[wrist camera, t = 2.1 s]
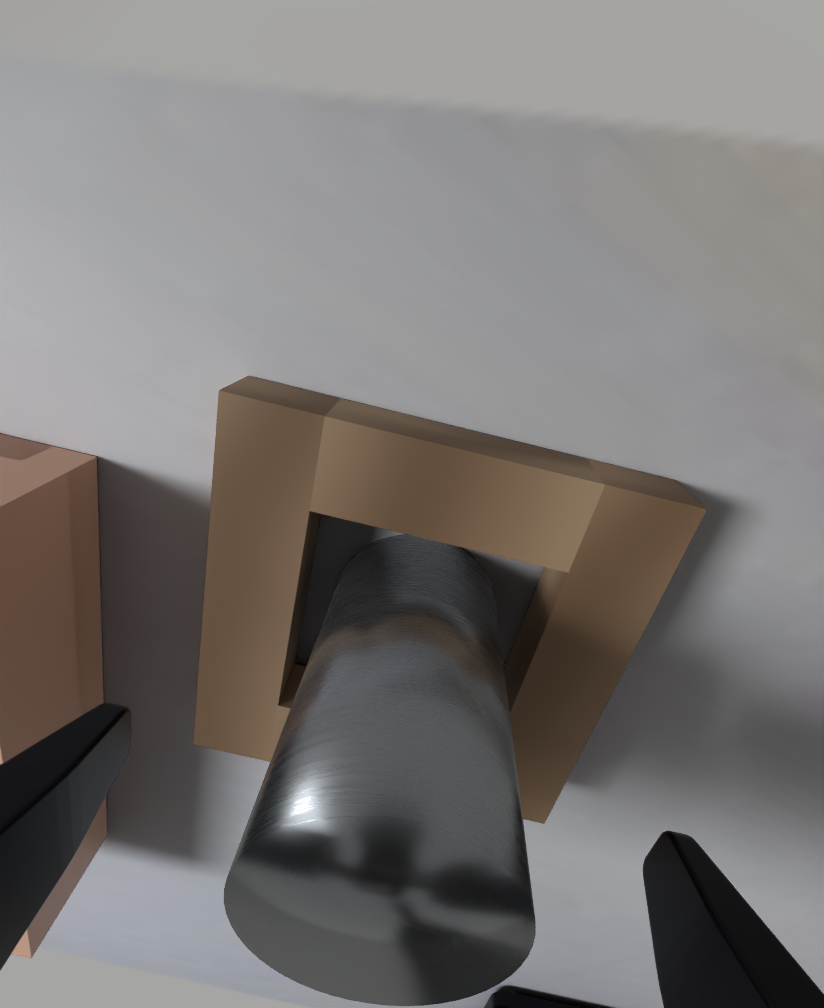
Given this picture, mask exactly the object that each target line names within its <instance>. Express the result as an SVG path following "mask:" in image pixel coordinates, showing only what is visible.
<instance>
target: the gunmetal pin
mask: <svg viewBox="0 0 824 1008" xmlns="http://www.w3.org/2000/svg"><path fill="white" fill-rule="evenodd" d="M224 904H225V909H226V914H227V916H228V919H229V921H230V924H231V926H232V928H233V929H234V931H235V932H236V934H237V936H238V937H239V938H240V940H241V941H242V942H243V943H244V944H245V946H246V947H247V948H248V949H249V950H250V951H251V952H252V953H253V954H255V955H256V956H257V957H258V958H259V959H260V960H262V961H263V962H264V963H266V964H267V965H268V966H270V967H271V968H273V969H274V970H276V971H277V972H279V973H281V974H282V975H284V976H286V977H288V978H290V979H292V980H294V981H296V982H298V983H300V984H302V985H305V986H307V987H310V988H312V989H314V990H317V991H320V992H323V993H326V994H329V995H332V996H336V997H340V998H344V999H348V1000H353V1001H359V1002H364V1003H371V1004H380V1005H394V1006H418V1005H430V1004H440V1003H445V1002H450V1001H456V1000H459V999H463V998H467V997H470V996H473V995H476V994H478V993H481V992H483V991H486V990H488V989H490V988H492V987H494V986H496V985H498V984H499V983H501V982H502V981H504V980H505V979H507V978H508V977H509V976H511V975H512V974H513V973H514V972H515V971H516V970H517V969H518V968H519V967H520V966H521V965H522V963H523V962H524V961H525V959H526V958H527V957H528V955H529V952H530V950H531V948H532V946H533V942H534V938H535V914H534V906H533V898H532V890H531V882H530V874H529V866H528V858H527V850H526V842H525V834H524V826H523V818H522V810H521V802H520V794H519V786H518V777H517V769H516V761H515V753H514V745H513V737H512V729H511V721H510V713H509V705H508V697H507V689H506V681H505V673H504V665H503V657H502V649H501V641H500V633H499V625H498V617H497V608H496V600H495V594H494V589H493V586H492V584H491V581H490V579H489V577H488V575H487V573H486V572H485V570H484V569H483V568H482V566H481V565H480V564H479V563H478V562H477V561H476V559H475V558H474V557H473V556H471V555H470V554H469V553H467V552H466V551H465V550H463V549H462V548H460V547H458V546H454V545H450V544H445V543H441V542H437V541H433V540H429V539H425V538H420V537H416V536H412V535H408V534H406V535H397V536H391V537H388V538H384V539H381V540H379V541H376V542H374V543H372V544H370V545H368V546H367V547H365V548H364V549H362V550H361V551H360V552H358V553H357V554H356V555H355V556H354V557H353V558H352V559H351V560H350V561H349V562H348V564H347V565H346V567H345V568H344V570H343V572H342V574H341V576H340V578H339V581H338V584H337V586H336V589H335V592H334V594H333V597H332V600H331V602H330V605H329V608H328V610H327V613H326V616H325V618H324V621H323V624H322V626H321V629H320V632H319V634H318V637H317V640H316V642H315V645H314V648H313V650H312V653H311V656H310V658H309V661H308V664H307V666H306V669H305V672H304V674H303V677H302V680H301V682H300V685H299V687H298V690H297V693H296V695H295V698H294V701H293V703H292V706H291V709H290V711H289V714H288V717H287V719H286V722H285V725H284V727H283V730H282V733H281V735H280V738H279V741H278V743H277V746H276V749H275V751H274V754H273V757H272V759H271V762H270V765H269V767H268V770H267V773H266V775H265V778H264V781H263V783H262V786H261V789H260V791H259V794H258V797H257V799H256V802H255V805H254V807H253V810H252V813H251V815H250V818H249V821H248V823H247V826H246V829H245V831H244V834H243V837H242V839H241V842H240V845H239V847H238V850H237V853H236V855H235V858H234V861H233V863H232V866H231V869H230V871H229V874H228V877H227V880H226V884H225V888H224Z"/></svg>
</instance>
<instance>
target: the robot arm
mask: <svg viewBox="0 0 824 1008" xmlns="http://www.w3.org/2000/svg"><path fill="white" fill-rule="evenodd" d="M130 745H131V711H130V709H129V708H128V707H126V706H121V705H117V704H112V703H103V704H100V705H98V706H97V707H95V708H93V709H92V710H90V711H88V712H87V713H85V714H83V715H82V716H80V717H78V718H77V719H75V720H73V721H72V722H70V723H68V724H67V725H65V726H63V727H62V728H60V729H58V730H57V731H55V732H53V733H52V734H50V735H48V736H47V737H45V738H43V739H42V740H40V741H38V742H37V743H35V744H34V745H32V746H30V747H29V748H27V749H25V750H24V751H22V752H20V753H19V754H17V755H15V756H14V757H12V758H10V759H9V760H7V761H5V762H4V763H2V764H0V970H1V969H2V967H3V966H4V964H5V962H6V961H7V959H8V958H9V956H10V955H11V953H12V952H13V950H14V949H15V947H16V946H17V944H18V942H19V941H20V939H21V938H22V936H23V935H24V933H25V932H26V930H27V929H28V927H29V925H30V924H31V922H32V921H33V919H34V918H35V916H36V915H37V913H38V912H39V910H40V909H41V907H42V905H43V904H44V902H45V901H46V899H47V898H48V896H49V895H50V893H51V892H52V890H53V888H54V887H55V885H56V884H57V882H58V881H59V879H60V878H61V876H62V875H63V873H64V871H65V870H66V868H67V867H68V865H69V863H70V862H71V860H72V858H73V857H74V855H75V853H76V852H77V850H78V848H79V846H80V844H81V842H82V841H83V839H84V837H85V835H86V833H87V831H88V829H89V827H90V825H91V824H92V822H93V820H94V818H95V816H96V814H97V812H98V810H99V808H100V806H101V804H102V803H103V801H104V799H105V797H106V795H107V793H108V791H109V789H110V787H111V785H112V784H113V782H114V780H115V778H116V776H117V774H118V772H119V770H120V768H121V766H122V764H123V763H124V761H125V759H126V757H127V754H128V752H129V749H130ZM643 878H644V885H645V892H646V899H647V906H648V913H649V920H650V927H651V934H652V941H653V948H654V955H655V962H656V968H657V974H658V980H659V986H660V991H661V995H662V1000H663V1005H664V1008H824V994H823V993H822V992H821V990H820V989H819V988H818V987H817V986H816V984H815V983H814V982H813V981H812V980H811V978H810V977H809V976H808V975H807V974H806V972H805V971H804V970H803V969H802V968H801V966H800V965H799V964H798V963H797V962H796V960H795V959H794V958H793V957H792V956H791V954H790V953H789V952H788V951H787V950H786V948H785V947H784V946H783V945H782V944H781V943H780V941H779V940H778V939H777V938H776V937H775V935H774V934H773V933H772V932H771V931H770V929H769V928H768V927H767V926H766V925H765V923H764V922H763V921H762V920H761V919H760V917H759V916H758V915H757V914H756V913H755V911H754V910H753V909H752V908H751V907H750V905H749V904H748V903H747V902H746V901H745V899H744V898H743V897H742V896H741V895H740V893H739V892H738V891H737V890H736V889H735V887H734V886H733V885H732V884H731V883H730V881H729V880H728V879H727V878H726V877H725V876H724V874H723V873H722V872H721V871H720V870H719V868H718V867H717V866H716V865H715V864H714V862H713V861H712V860H711V859H710V858H709V856H708V855H707V854H706V853H705V852H704V850H703V849H702V848H701V847H700V846H699V844H698V843H697V842H696V841H695V840H694V839H693V838H692V837H690V836H688V835H685V834H681V833H677V832H672V831H665V832H663V833H662V834H661V835H660V837H659V838H658V840H657V841H656V843H655V844H654V846H653V847H652V849H651V850H650V852H649V853H648V855H647V856H646V858H645V860H644V864H643ZM484 1008H581V1007H576V1006H571V1005H567V1004H562V1003H558V1002H553V1001H548V1000H544V999H539V998H535V997H530V996H525V995H521V994H516V993H512V992H506V991H499V992H496V993H493V994H492V995H491V997H490V998H489V1000H488V1002H487V1004H486V1005H485V1007H484Z"/></svg>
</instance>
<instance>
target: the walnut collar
mask: <svg viewBox="0 0 824 1008" xmlns="http://www.w3.org/2000/svg"><path fill="white" fill-rule="evenodd" d="M706 511H707V509H706V508H705V507H704V506H703V505H702V504H701V503H700V502H699V501H698V500H697V499H695V498H694V497H693V496H692V495H691V494H690V493H689V492H688V491H687V490H686V489H685V488H684V487H683V486H682V485H681V484H680V483H678V482H677V481H676V480H672V479H668V478H664V477H660V476H656V475H652V474H648V473H644V472H639V471H635V470H631V469H627V468H623V467H619V466H615V465H611V464H607V463H603V462H599V461H595V460H590V459H586V458H582V457H578V456H574V455H570V454H566V453H562V452H558V451H554V450H550V449H546V448H541V447H537V446H533V445H529V444H525V443H521V442H517V441H513V440H509V439H505V438H501V437H496V436H492V435H488V434H484V433H480V432H476V431H472V430H468V429H464V428H460V427H456V426H452V425H447V424H443V423H439V422H435V421H431V420H427V419H423V418H419V417H415V416H411V415H407V414H403V413H398V412H394V411H390V410H386V409H382V408H378V407H374V406H370V405H366V404H362V403H358V402H354V401H349V400H345V399H341V398H337V397H333V396H329V395H325V394H321V393H317V392H313V391H309V390H304V389H300V388H296V387H292V386H288V385H284V384H280V383H276V382H272V381H268V380H264V379H260V378H255V377H251V376H247V377H245V378H243V379H241V380H239V381H237V382H235V383H233V384H231V385H229V386H227V387H225V388H223V389H221V390H219V397H218V411H217V424H216V438H215V452H214V466H213V479H212V493H211V507H210V520H209V534H208V548H207V562H206V575H205V589H204V603H203V616H202V630H201V644H200V658H199V671H198V685H197V699H196V712H195V726H194V740H193V744H194V745H198V746H203V747H207V748H211V749H216V750H220V751H225V752H229V753H234V754H238V755H242V756H247V757H251V758H256V759H260V760H265V761H269V762H271V759H272V757H273V754H274V751H275V749H276V746H277V743H278V741H279V738H280V735H281V733H282V730H283V727H284V725H285V722H286V719H287V717H288V714H289V711H290V709H291V706H292V703H293V701H294V698H295V695H296V693H297V690H298V687H299V685H300V682H301V680H302V677H303V674H304V672H305V669H306V666H304V665H299V664H295V661H296V655H297V649H298V644H299V638H300V632H301V626H302V620H303V615H304V609H305V603H306V597H307V592H308V586H309V580H310V574H311V568H312V563H313V557H314V551H315V545H316V539H317V534H318V528H319V522H320V516H321V514H324V515H328V516H332V517H337V518H341V519H345V520H349V521H353V522H358V523H362V524H366V525H370V526H374V527H378V528H383V529H387V530H391V531H395V532H399V533H404V534H408V535H412V536H416V537H420V538H425V539H429V540H433V541H437V542H441V543H445V544H450V545H454V546H458V547H462V548H466V549H471V550H475V551H479V552H483V553H487V554H491V555H496V556H500V557H504V558H508V559H512V560H517V561H521V562H525V563H529V564H533V565H538V566H542V567H544V569H543V571H542V574H541V577H540V579H539V582H538V584H537V587H536V589H535V592H534V594H533V597H532V599H531V602H530V605H529V607H528V610H527V612H526V615H525V617H524V620H523V622H522V625H521V627H520V630H519V633H518V635H517V638H516V640H515V643H514V645H513V648H512V650H511V653H510V656H509V658H508V661H507V663H506V666H505V668H504V673H505V681H506V689H507V697H508V705H509V713H510V721H511V729H512V737H513V745H514V753H515V761H516V769H517V777H518V786H519V794H520V802H521V810H522V818H523V819H526V820H530V821H534V822H539V823H543V824H544V823H545V821H546V819H547V817H548V816H549V814H550V812H551V810H552V808H553V806H554V804H555V802H556V800H557V798H558V796H559V794H560V792H561V790H562V789H563V787H564V785H565V783H566V781H567V779H568V777H569V775H570V773H571V771H572V769H573V767H574V765H575V763H576V762H577V760H578V758H579V756H580V754H581V752H582V750H583V748H584V746H585V744H586V742H587V740H588V738H589V736H590V735H591V733H592V731H593V729H594V727H595V725H596V723H597V721H598V719H599V717H600V715H601V713H602V711H603V709H604V707H605V706H606V704H607V702H608V700H609V698H610V696H611V694H612V692H613V690H614V688H615V686H616V684H617V682H618V680H619V679H620V677H621V675H622V673H623V671H624V669H625V667H626V665H627V663H628V661H629V659H630V657H631V655H632V653H633V652H634V650H635V648H636V646H637V644H638V642H639V640H640V638H641V636H642V634H643V632H644V630H645V628H646V626H647V625H648V623H649V621H650V619H651V617H652V615H653V613H654V611H655V609H656V607H657V605H658V603H659V601H660V599H661V597H662V596H663V594H664V592H665V590H666V588H667V586H668V584H669V582H670V580H671V578H672V576H673V574H674V572H675V570H676V569H677V567H678V565H679V563H680V561H681V559H682V557H683V555H684V553H685V551H686V549H687V547H688V545H689V543H690V542H691V540H692V538H693V536H694V534H695V532H696V530H697V528H698V526H699V524H700V522H701V520H702V518H703V516H704V515H705V513H706Z"/></svg>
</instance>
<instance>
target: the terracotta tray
mask: <svg viewBox="0 0 824 1008" xmlns="http://www.w3.org/2000/svg"><path fill="white" fill-rule="evenodd" d="M103 703H104V700H103V663H102V627H101V591H100V554H99V518H98V482H97V457H95V456H91V455H87V454H83V453H79V452H75V451H70V450H66V449H62V448H58V447H54V446H49V445H45V444H41V443H37V442H33V441H29V440H24V439H20V438H16V437H12V436H8V435H3V434H0V764H2V763H4V762H5V761H7V760H9V759H10V758H12V757H14V756H15V755H17V754H19V753H20V752H22V751H24V750H25V749H27V748H29V747H30V746H32V745H34V744H35V743H37V742H38V741H40V740H42V739H43V738H45V737H47V736H48V735H50V734H52V733H53V732H55V731H57V730H58V729H60V728H62V727H63V726H65V725H67V724H68V723H70V722H72V721H73V720H75V719H77V718H78V717H80V716H82V715H83V714H85V713H87V712H88V711H90V710H92V709H93V708H95V707H97V706H98V705H100V704H103ZM106 836H107V809H106V797H105V799H104V801H103V803H102V804H101V806H100V808H99V810H98V812H97V814H96V816H95V818H94V820H93V822H92V824H91V825H90V827H89V829H88V831H87V833H86V835H85V837H84V839H83V841H82V842H81V844H80V846H79V848H78V850H77V852H76V853H75V855H74V857H73V858H72V860H71V862H70V863H69V865H68V867H67V868H66V870H65V871H64V873H63V875H62V876H61V878H60V879H59V881H58V882H57V884H56V885H55V887H54V888H53V890H52V892H51V893H50V895H49V896H48V898H47V899H46V901H45V902H44V904H43V905H42V907H41V909H40V910H39V912H38V913H37V915H36V916H35V918H34V919H33V921H32V922H31V924H30V925H29V927H28V929H27V930H26V932H25V933H24V935H23V936H22V938H21V939H20V941H19V942H18V944H17V946H16V947H15V949H14V950H13V952H12V953H11V954H13V955H18V956H22V957H27V958H32V956H33V955H34V953H35V952H36V950H37V949H38V947H39V945H40V944H41V942H42V940H43V939H44V937H45V936H46V934H47V932H48V931H49V929H50V927H51V926H52V924H53V923H54V921H55V919H56V918H57V916H58V914H59V913H60V911H61V910H62V908H63V906H64V905H65V903H66V901H67V900H68V898H69V897H70V895H71V893H72V892H73V890H74V888H75V887H76V885H77V884H78V882H79V880H80V879H81V877H82V875H83V874H84V872H85V871H86V869H87V867H88V866H89V864H90V862H91V861H92V859H93V858H94V856H95V854H96V853H97V851H98V849H99V848H100V846H101V845H102V843H103V841H104V840H105V838H106Z"/></svg>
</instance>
